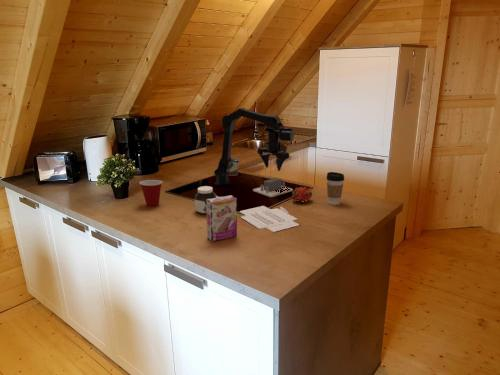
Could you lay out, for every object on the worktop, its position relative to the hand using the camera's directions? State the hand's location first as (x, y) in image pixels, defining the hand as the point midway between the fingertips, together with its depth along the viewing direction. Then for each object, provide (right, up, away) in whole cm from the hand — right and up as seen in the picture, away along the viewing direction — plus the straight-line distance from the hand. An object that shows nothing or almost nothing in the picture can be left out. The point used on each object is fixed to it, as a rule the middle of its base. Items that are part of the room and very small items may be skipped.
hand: (272, 169), depth 212 cm
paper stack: (-4, -24, -34) cm, 42 cm away
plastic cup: (-60, -18, -17) cm, 65 cm away
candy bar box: (-23, -30, -53) cm, 65 cm away
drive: (0, -11, +3) cm, 11 cm away
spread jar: (-31, -21, -25) cm, 45 cm away
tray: (0, -12, +3) cm, 12 cm away
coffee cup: (+29, -18, -16) cm, 38 cm away
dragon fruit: (+14, -17, -14) cm, 26 cm away
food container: (-24, -2, +36) cm, 43 cm away
